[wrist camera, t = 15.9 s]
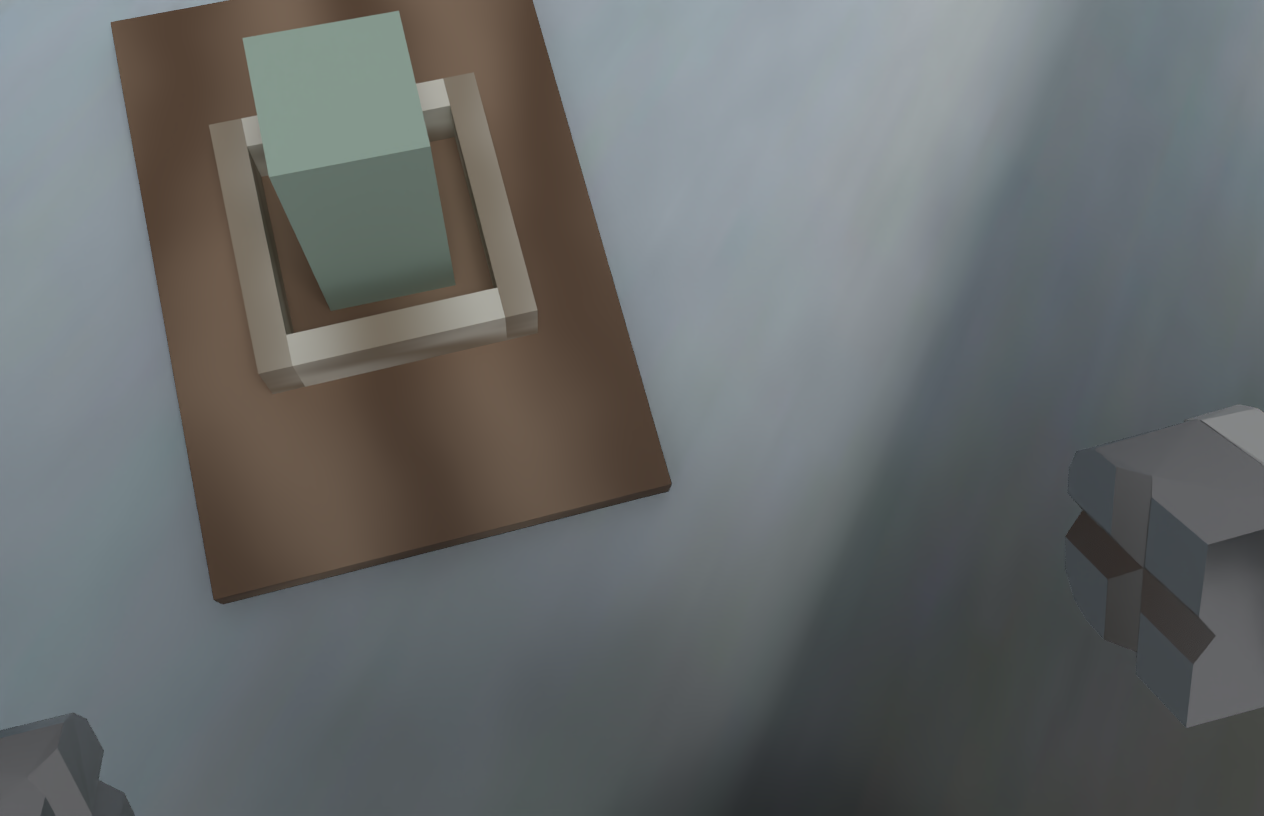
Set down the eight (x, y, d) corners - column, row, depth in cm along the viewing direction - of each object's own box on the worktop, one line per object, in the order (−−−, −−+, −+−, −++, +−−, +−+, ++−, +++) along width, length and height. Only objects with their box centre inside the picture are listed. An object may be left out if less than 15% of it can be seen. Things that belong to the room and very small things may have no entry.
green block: (430, 175, 40) (398, 10, 31) (455, 285, 39) (430, 146, 30) (308, 198, 39) (242, 37, 31) (330, 310, 38) (268, 177, 30)
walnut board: (517, -35, 44) (515, -92, 41) (668, 490, 38) (678, 468, 35) (120, 39, 42) (89, -15, 39) (222, 604, 36) (194, 589, 34)
